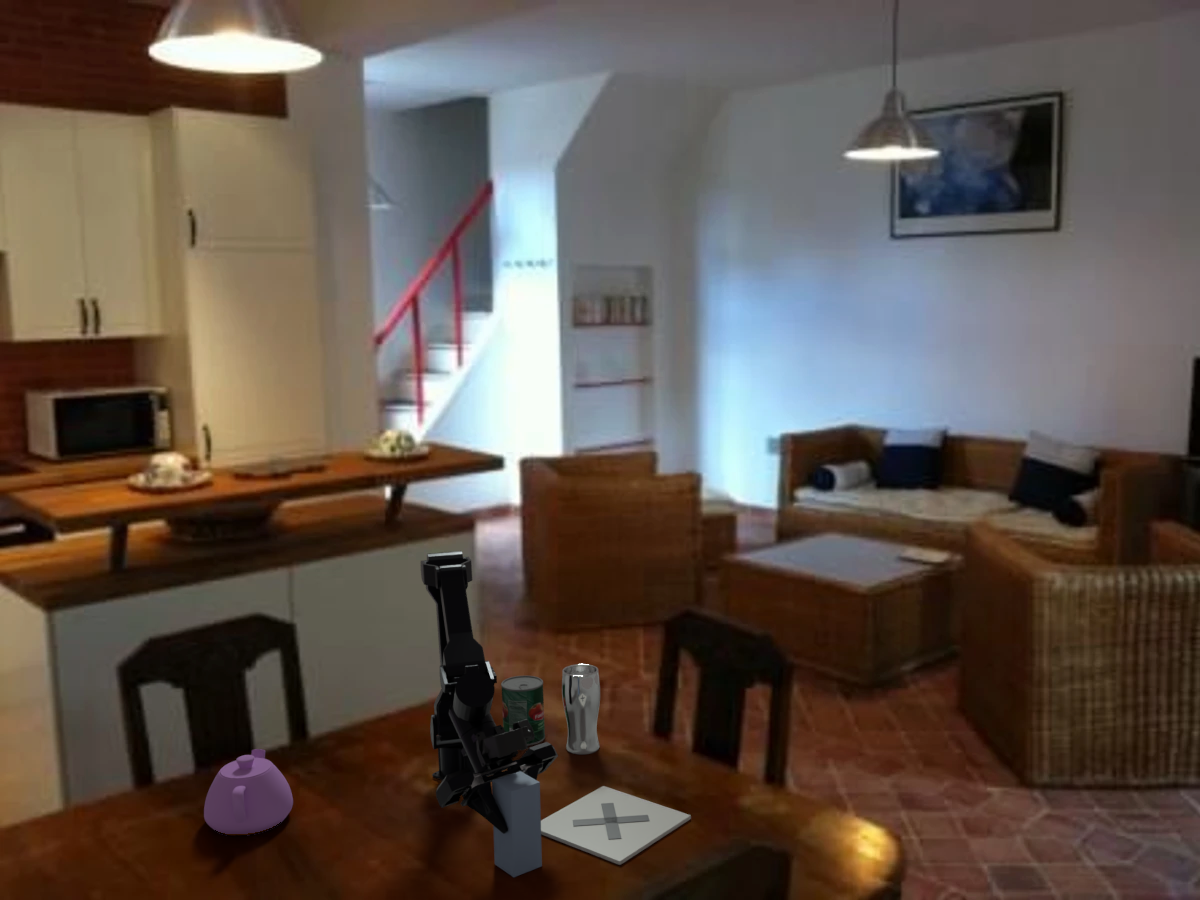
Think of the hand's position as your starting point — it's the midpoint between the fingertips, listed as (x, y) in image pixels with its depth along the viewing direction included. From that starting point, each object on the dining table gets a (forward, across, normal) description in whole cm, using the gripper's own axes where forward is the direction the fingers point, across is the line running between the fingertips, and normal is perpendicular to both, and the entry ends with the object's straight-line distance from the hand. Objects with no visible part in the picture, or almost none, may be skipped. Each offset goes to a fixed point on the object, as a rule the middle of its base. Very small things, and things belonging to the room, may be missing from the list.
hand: (521, 826), depth 163 cm
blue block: (+4, 0, +6) cm, 7 cm away
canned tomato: (-24, +28, +33) cm, 49 cm away
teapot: (-26, -24, +36) cm, 50 cm away
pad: (+3, +18, +6) cm, 20 cm away
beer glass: (-16, +33, +25) cm, 44 cm away
